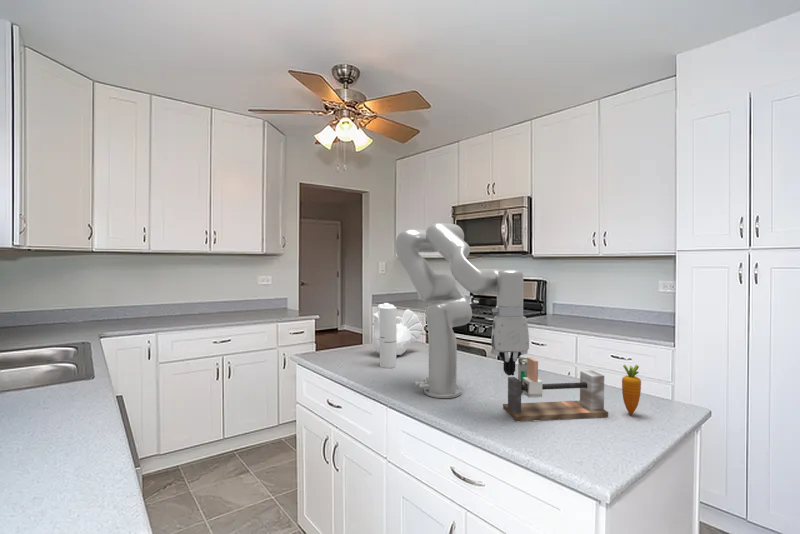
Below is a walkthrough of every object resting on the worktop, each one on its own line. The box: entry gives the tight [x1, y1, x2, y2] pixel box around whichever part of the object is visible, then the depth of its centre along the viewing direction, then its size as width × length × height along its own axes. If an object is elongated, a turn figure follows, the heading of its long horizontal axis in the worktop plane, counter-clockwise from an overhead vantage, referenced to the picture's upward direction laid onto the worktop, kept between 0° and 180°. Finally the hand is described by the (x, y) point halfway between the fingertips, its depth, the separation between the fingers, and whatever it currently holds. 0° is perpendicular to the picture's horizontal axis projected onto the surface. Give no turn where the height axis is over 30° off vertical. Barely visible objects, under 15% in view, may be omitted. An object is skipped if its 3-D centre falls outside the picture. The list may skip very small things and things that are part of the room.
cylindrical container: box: [379, 306, 398, 369], centre depth 176 cm, size 7×7×25 cm
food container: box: [517, 356, 528, 394], centre depth 145 cm, size 12×6×10 cm, turn 168°
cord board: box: [502, 370, 609, 423], centre depth 123 cm, size 28×10×12 cm, turn 97°
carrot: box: [621, 364, 642, 416], centre depth 122 cm, size 5×5×15 cm
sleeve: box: [521, 356, 543, 399], centre depth 122 cm, size 4×5×11 cm
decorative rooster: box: [372, 302, 423, 356], centre depth 197 cm, size 25×16×25 cm, turn 102°
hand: (509, 374), depth 121 cm, fingers closed
